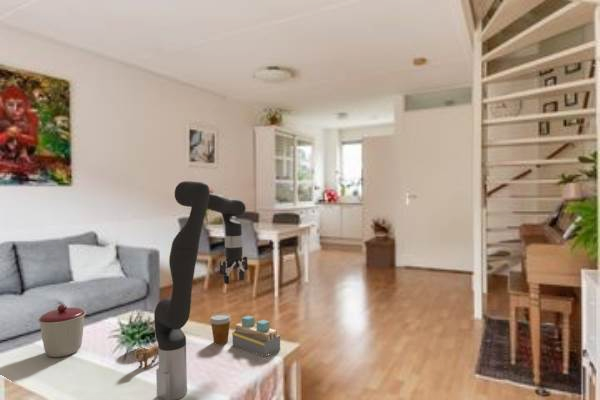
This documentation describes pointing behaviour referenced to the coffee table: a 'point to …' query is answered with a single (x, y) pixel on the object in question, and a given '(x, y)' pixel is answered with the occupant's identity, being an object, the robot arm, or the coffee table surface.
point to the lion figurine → (145, 355)
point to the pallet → (257, 332)
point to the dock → (255, 343)
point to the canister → (62, 330)
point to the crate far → (248, 321)
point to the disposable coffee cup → (220, 327)
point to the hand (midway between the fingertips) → (234, 282)
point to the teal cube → (263, 325)
